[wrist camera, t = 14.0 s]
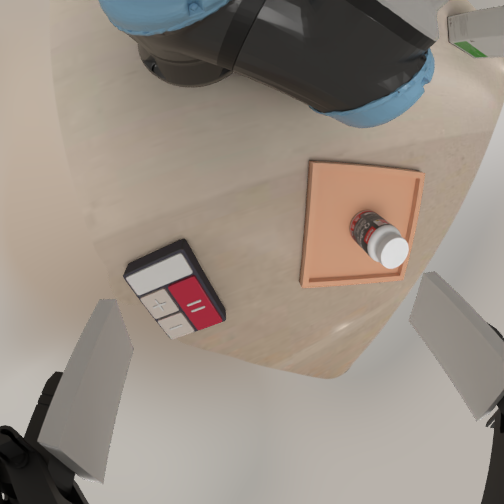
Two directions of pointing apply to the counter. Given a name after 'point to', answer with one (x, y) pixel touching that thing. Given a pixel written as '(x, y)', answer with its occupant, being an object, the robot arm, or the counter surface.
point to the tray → (342, 213)
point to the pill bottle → (379, 239)
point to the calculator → (175, 290)
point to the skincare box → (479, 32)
